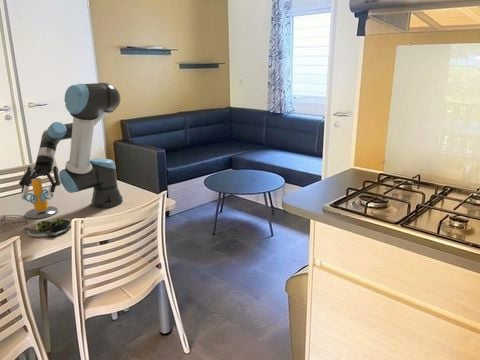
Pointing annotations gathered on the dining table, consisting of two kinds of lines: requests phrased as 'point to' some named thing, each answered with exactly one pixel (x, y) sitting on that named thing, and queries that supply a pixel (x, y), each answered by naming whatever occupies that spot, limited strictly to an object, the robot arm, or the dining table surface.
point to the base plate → (41, 213)
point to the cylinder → (38, 195)
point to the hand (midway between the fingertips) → (36, 198)
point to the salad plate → (50, 228)
